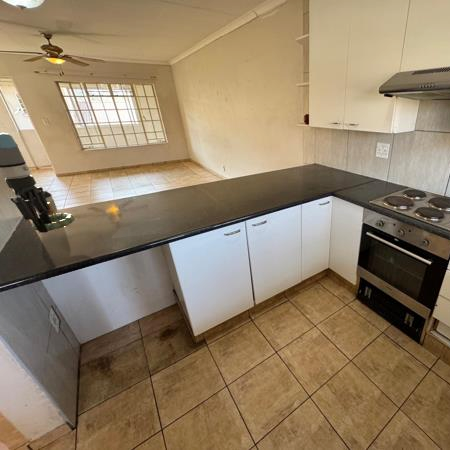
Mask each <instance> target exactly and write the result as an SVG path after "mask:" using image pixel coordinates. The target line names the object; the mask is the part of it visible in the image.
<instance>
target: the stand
mask: <svg viewBox="0 0 450 450" xmlns="http://www.w3.org/2000/svg"><path fill="white" fill-rule="evenodd" d="M48 205H49V207H50V210H48V211H50V213H48V215H53V214H55V212H54V210H53V208H52V206H51V204H50V203H49V202H48ZM58 221H60V220H57V221H52V223H54V222H58ZM64 228H65V227H62V228H59V229H55V230H54V231H56V230H57V231H58V230H63V229H64Z"/></svg>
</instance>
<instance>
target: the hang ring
mask: <svg viewBox="0 0 450 450" xmlns="http://www.w3.org/2000/svg"><path fill="white" fill-rule="evenodd" d="M49 217H50V220H51V222H52V221H57V220H59V221H58V222H54V223H49V224H45V226H46V228H47V230H48V232H50V231H56V230H55V229H57V230H60V229H59V228H62V227H64V228H66V227H67V226H69V225H71V224H73V222H75V220H76V219H75V215H74V214H73V213H67V212H61V213H59V212H58V214H53V215H49ZM31 229H32V230H33V231H37V232H39V231H38V229H37V228H36V226H35V225H34V223H33V222H31Z"/></svg>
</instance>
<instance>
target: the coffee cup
mask: <svg viewBox="0 0 450 450" xmlns="http://www.w3.org/2000/svg"><path fill="white" fill-rule="evenodd" d="M43 193H44V196H45V198H46V200H47V202H49V203H50V204H51V206H52V208H53V210H54V212H55V214H59V211H58V207H57V205H56V203H55V199H54V198H53V194H52V193H50V192H48V191H47V190H43ZM34 207H35V206H34ZM35 209H36V207H35ZM36 212H37V215H39V214H40V213H39V212H38V210H37V209H36Z"/></svg>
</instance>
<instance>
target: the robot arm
mask: <svg viewBox="0 0 450 450" xmlns="http://www.w3.org/2000/svg"><path fill="white" fill-rule="evenodd" d="M0 174H1V177H2V178H4V181H5V184H6V185H7V187H8V188H9V189H11V190H13V191H14V197H10V201H11V202H12V203H13V204H14V205H15V206H16V208H17V209H18V211H19V212H20V214H21V215H22V216H23V218H24V220H25V221H32V222H31V223H34V225H35V226H36V228H37V229H38V231H37V232H38V233H39V234H41V233H48V232H49V231H48V230H47V228H46V226H45V224H49V223H52V222H51V220H50V217H49V215H48V213H50V211H48V210H50V207H49V205H48V202H47V200H46V198H45V196H44V193H43V191H44V189H43V188H44V187H41V186H40V187H39V186H38V187H37V186H35V185H36V184H37V181H36V180H35V178H34V175H32V172H31V170H30V168H29V165H28V164H27V162H26V160H25V158H24V156H23V154H22V152H21V150H20V148H19V145H18V144H17V142H16V141H15V139H14V137H13V136H12V135H11V134H10V133H8V132H7V133H6V132H0ZM34 206H35V207H36V209H37V210H38V212H39V213H40V214H38V213H37V211H36V209H35V207H34Z"/></svg>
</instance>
